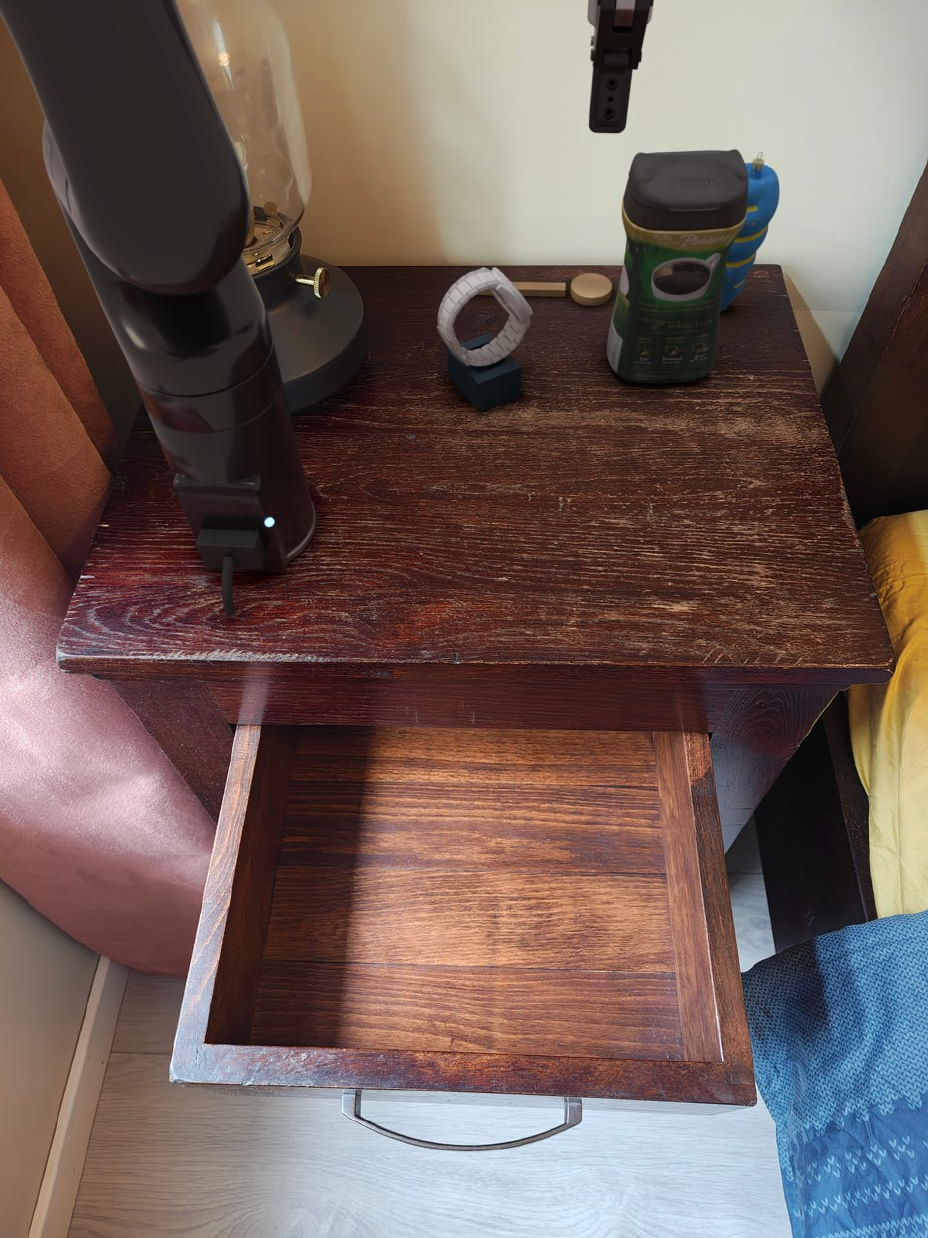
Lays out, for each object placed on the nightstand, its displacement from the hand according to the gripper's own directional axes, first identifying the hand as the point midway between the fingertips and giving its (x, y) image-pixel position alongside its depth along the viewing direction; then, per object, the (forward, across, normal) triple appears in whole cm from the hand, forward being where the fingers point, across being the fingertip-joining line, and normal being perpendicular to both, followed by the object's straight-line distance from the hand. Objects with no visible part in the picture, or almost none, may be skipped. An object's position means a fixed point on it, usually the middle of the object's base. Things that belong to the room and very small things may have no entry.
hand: (606, 126), depth 55 cm
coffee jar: (+27, -13, +7) cm, 31 cm away
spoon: (+27, -22, -3) cm, 35 cm away
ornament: (+27, -21, +14) cm, 37 cm away
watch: (+27, -8, -8) cm, 29 cm away
